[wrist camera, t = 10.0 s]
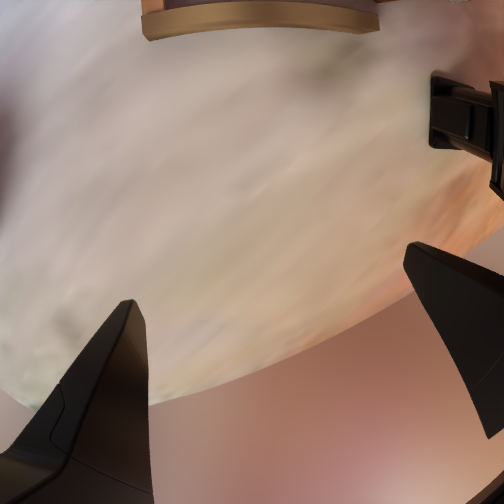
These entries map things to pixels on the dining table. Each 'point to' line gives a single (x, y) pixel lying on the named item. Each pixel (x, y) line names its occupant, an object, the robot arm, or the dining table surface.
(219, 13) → the bay
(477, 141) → the robot arm
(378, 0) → the food container
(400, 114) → the dining table surface
